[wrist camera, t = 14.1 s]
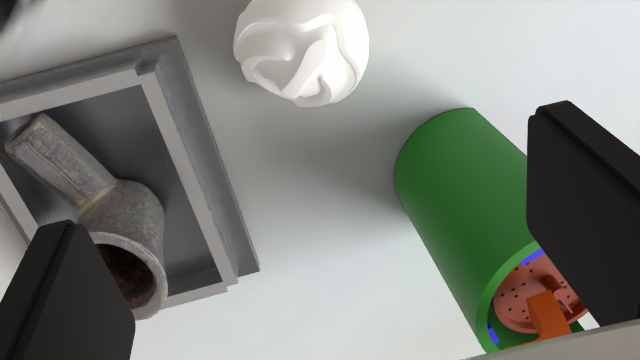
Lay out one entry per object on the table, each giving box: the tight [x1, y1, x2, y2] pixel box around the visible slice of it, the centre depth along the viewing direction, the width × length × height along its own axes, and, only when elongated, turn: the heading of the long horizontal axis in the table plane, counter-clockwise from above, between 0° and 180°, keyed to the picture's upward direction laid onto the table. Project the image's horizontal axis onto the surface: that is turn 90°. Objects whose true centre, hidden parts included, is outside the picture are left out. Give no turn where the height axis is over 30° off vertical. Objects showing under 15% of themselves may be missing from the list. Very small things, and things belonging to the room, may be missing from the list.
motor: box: [394, 108, 588, 353], centre depth 34 cm, size 10×9×20 cm
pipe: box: [5, 113, 168, 321], centre depth 34 cm, size 6×13×8 cm, turn 33°
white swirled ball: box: [233, 0, 369, 107], centre depth 32 cm, size 8×8×8 cm
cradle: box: [0, 36, 260, 310], centre depth 38 cm, size 19×15×3 cm
